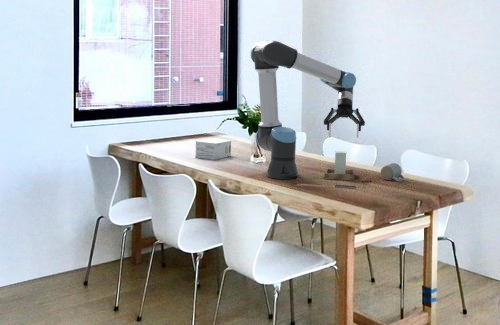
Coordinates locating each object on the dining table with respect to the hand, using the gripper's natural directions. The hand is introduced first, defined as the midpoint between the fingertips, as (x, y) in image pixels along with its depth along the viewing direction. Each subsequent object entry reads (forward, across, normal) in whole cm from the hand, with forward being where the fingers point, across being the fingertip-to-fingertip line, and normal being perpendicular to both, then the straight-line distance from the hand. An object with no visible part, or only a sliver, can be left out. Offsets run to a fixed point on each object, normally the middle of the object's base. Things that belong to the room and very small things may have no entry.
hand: (343, 135), depth 334 cm
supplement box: (-12, +73, -39) cm, 84 cm away
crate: (+22, +1, -6) cm, 23 cm away
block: (+21, +1, -5) cm, 22 cm away
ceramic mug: (+19, -24, -10) cm, 32 cm away
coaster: (+34, -2, +6) cm, 34 cm away
